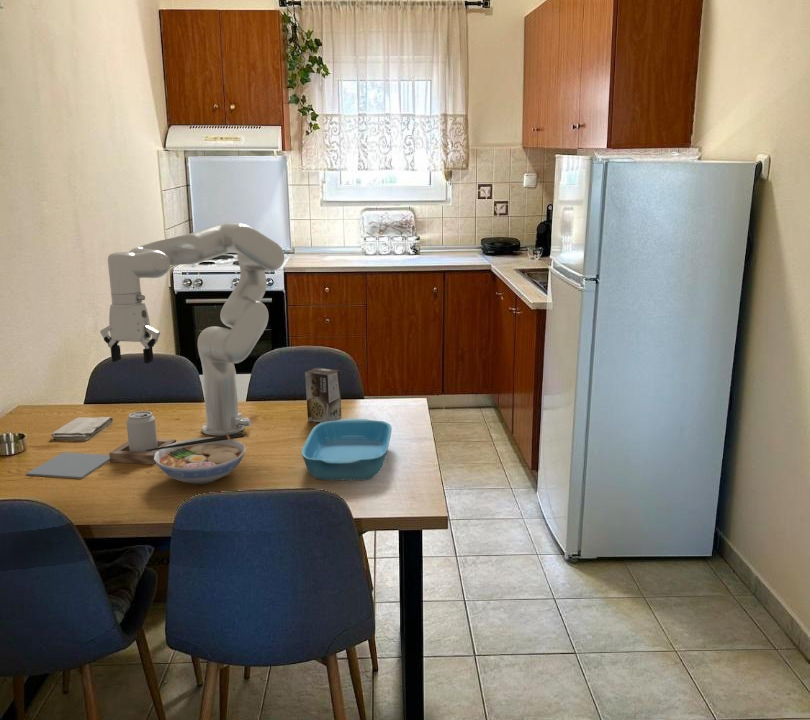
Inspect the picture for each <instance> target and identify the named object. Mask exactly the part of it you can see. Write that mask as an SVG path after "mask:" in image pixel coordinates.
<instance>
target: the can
mask: <svg viewBox="0 0 810 720" xmlns="http://www.w3.org/2000/svg"><path fill="white" fill-rule="evenodd" d="M125 422H126V431H127V441H128V442H129V451H131V452H148V453H150V452H152V451H153V450H152V451H146V450H149V449H154V448H158V445H157V439H158V437H157V435H158V434H157V427H156V418H155V416H154V415H153V412H151V411H149V410H139V411H138V410H137V411H134V412H131V413H129V414H128V418H127V419H126V421H125Z"/></svg>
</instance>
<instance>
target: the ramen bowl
mask: <svg viewBox="0 0 810 720" xmlns="http://www.w3.org/2000/svg"><path fill="white" fill-rule="evenodd" d="M241 438H243V439H244V438H245V434H244V433H243V432H238V433H234V434H230V435H221V436H215V437H214V436H212V437H211V436H210V437H209V436H207V437H194V438H189V439H188V438H187V439H185V440H184V439H183V440H180V441H176V442H175V443H173V444H170V445H167V446H165V447H160V448H154V449H149V450H146V451H152V450H159V449H160V450H159V451H157V452H156V453H155V456H154V460H155V462H156V463H155V464H156V465H157V466H158V467H159V469H161V471H163V472H164V473H165V474H166V475H168V476H169V477H170V479H173V480H176V481H178V482H181V483H182V482H183V483H189V484H193V485H203V484H209V483H212V482H214V481H216V480H220V479H221V478H223V477H226V476H228V475H229V474H230V473H232V472H233V471H234V470H235V469H236V468H237V467H238V465H239V464H240V462H241V461H242V459H244V458H243V457H244V456H245V453H246V445H245V444H244V443H242V442H241V441H239V440H236V439H241Z"/></svg>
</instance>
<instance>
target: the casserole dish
mask: <svg viewBox="0 0 810 720" xmlns="http://www.w3.org/2000/svg"><path fill="white" fill-rule="evenodd" d="M392 429H393V428H392V426H391V424H390V423H389V422H387V421H383V420H373V419H368V418H344V419H343V418H342V420H337V421H328V422H323V423H317V424H316V425H315V426H314V427H313V428H312V429H311V430H310V433H309V434H308V436H307V437H306V440H305V442H304V445H303V446H302V448H301V457H302V458H303V461H304V463H305V464H304V465H305V467H306V469H307V471H308V472H309V474H310V476H312V477H314V478H315V479H317V480H319V481H320V480H322V481H366V480H370V479H372V478H374V477H375V476H376V475H378V474H379V472H380V471H381V470H382V468H383V466H384V464H385V460H386V457H387V453H388V450H389V446H390V440H391V436H392Z"/></svg>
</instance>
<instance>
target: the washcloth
mask: <svg viewBox="0 0 810 720" xmlns="http://www.w3.org/2000/svg"><path fill="white" fill-rule="evenodd" d="M111 423H112V424H113V423H114V418H113V417H112V416H100V417H80V416H79V417H76V418H74V419H73V420H71V421H69V422H67V423H65V424H64V425H63V426H61V427H60V428H58V429H56V430H54V431H53V432H51V434H50V435H51V437H52V439H58V440H73V441H72V442H85V441H89V440H91V439H92V438H94V437H95V436H97V435H99V434H100V433H102V430H103V431H104V430H105V429H106V428H108V427H110V426H111V425H112V424H111ZM110 424H111V425H110ZM107 426H108V427H107ZM105 427H106V428H105ZM99 432H100V433H99ZM98 433H99V434H98ZM52 439H51V440H52ZM58 440H57V441H58Z"/></svg>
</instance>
